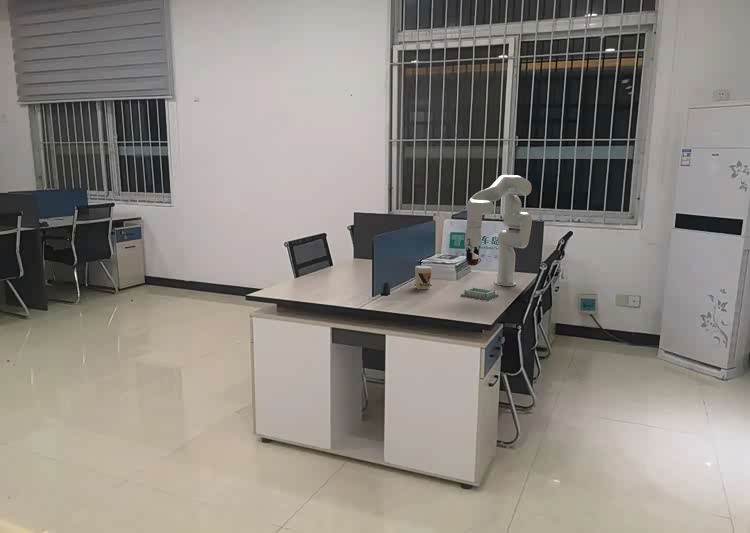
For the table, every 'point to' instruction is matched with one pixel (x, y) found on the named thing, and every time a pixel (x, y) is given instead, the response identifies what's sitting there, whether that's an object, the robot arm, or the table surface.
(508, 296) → the table surface
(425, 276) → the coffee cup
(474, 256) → the cocoa
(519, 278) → the table surface
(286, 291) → the table surface
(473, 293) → the holder board
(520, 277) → the table surface
